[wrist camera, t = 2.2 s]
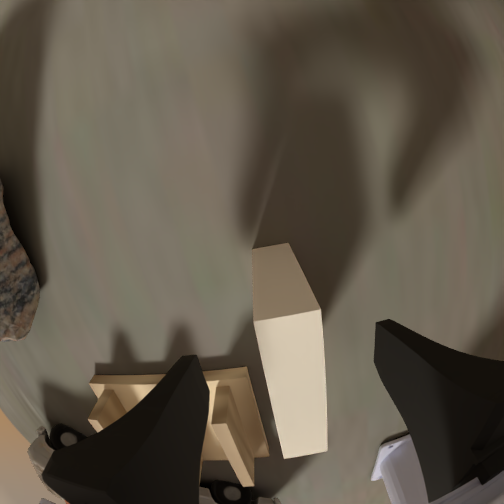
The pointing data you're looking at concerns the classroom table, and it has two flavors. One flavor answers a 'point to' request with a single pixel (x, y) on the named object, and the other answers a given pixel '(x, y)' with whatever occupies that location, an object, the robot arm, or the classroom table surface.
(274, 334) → the tall cream block
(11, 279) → the stone
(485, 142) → the classroom table surface
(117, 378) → the rack
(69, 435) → the toy car
